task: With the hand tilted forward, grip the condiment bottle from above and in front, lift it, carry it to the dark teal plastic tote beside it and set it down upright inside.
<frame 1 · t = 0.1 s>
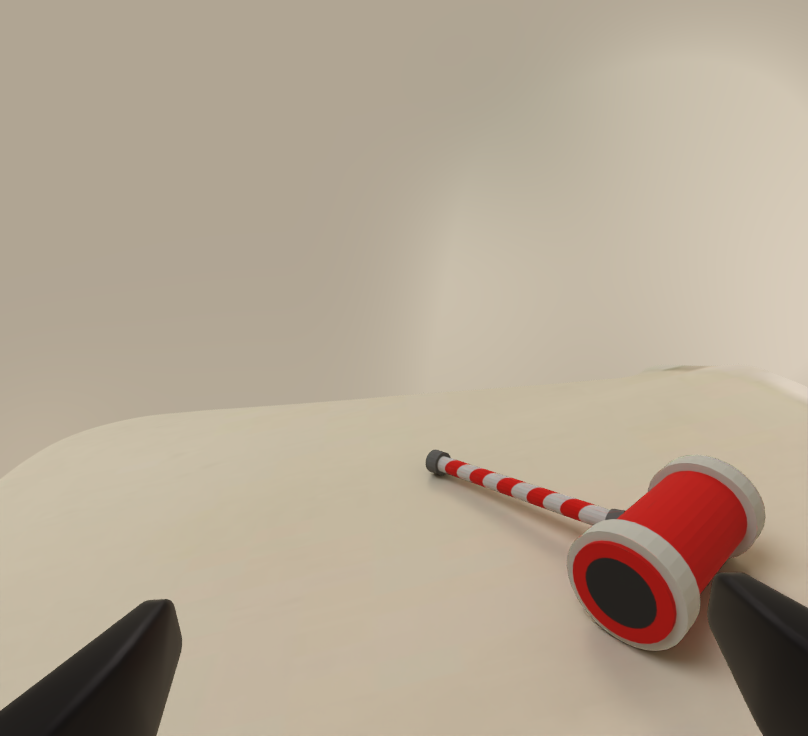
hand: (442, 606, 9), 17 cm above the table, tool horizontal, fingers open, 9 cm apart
toy hammer: (572, 546, 35), on the table
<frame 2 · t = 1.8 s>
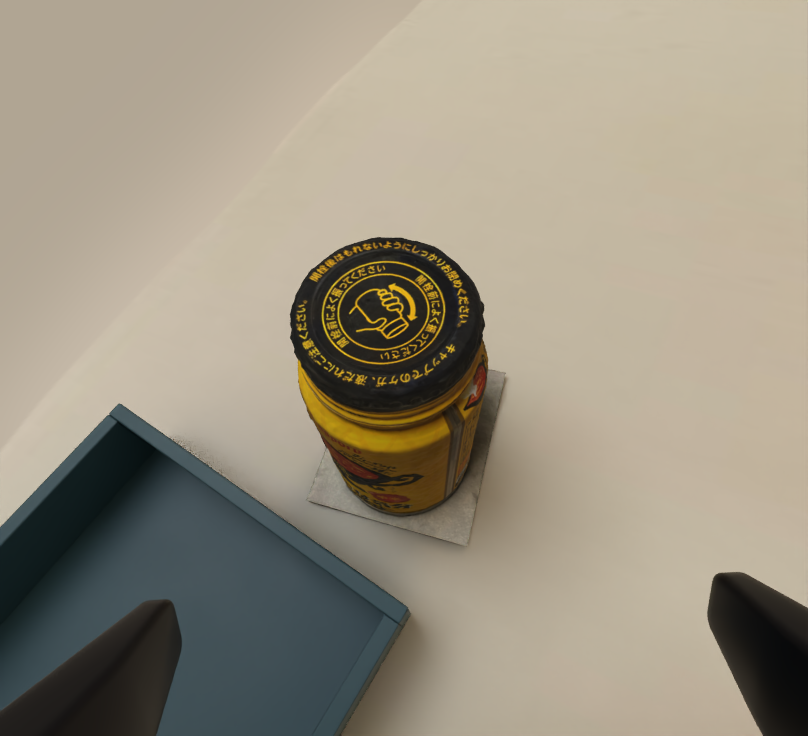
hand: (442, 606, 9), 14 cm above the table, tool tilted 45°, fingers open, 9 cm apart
tote: (152, 685, 20), on the table
condiment: (411, 436, 25), on the table
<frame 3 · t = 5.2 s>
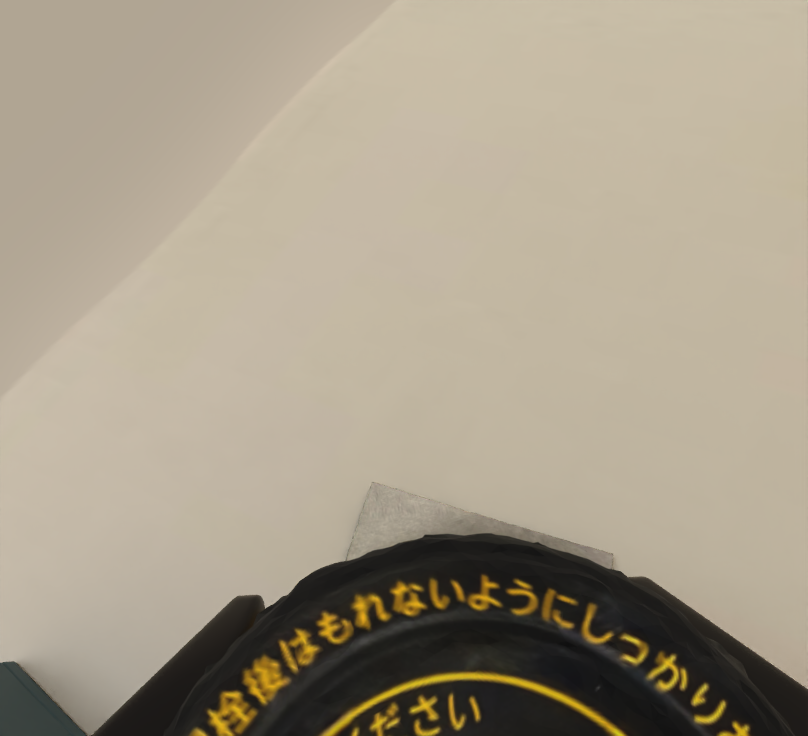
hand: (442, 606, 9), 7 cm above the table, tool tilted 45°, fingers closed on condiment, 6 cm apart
condiment: (450, 672, 14), on the table, touching gripper
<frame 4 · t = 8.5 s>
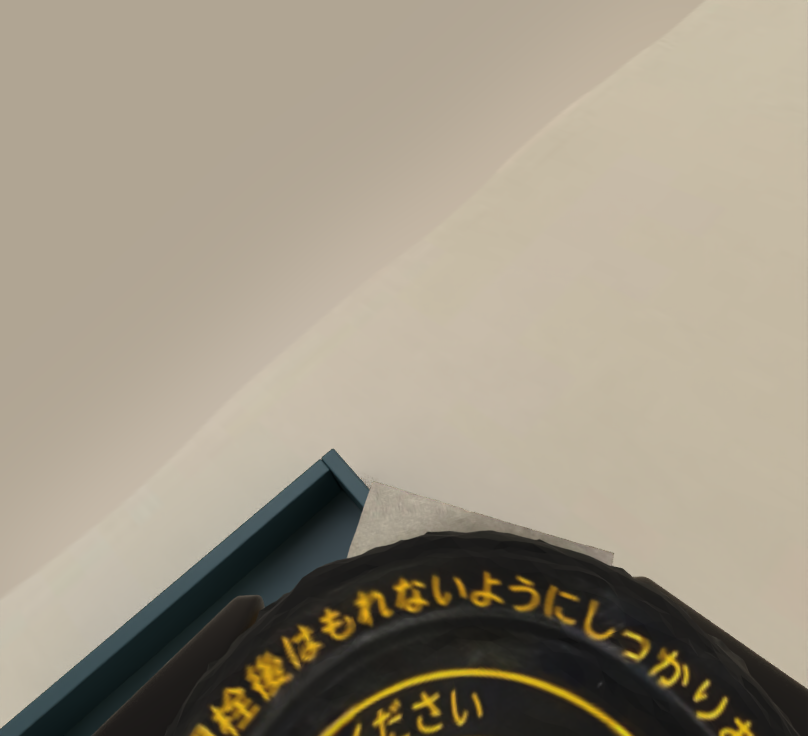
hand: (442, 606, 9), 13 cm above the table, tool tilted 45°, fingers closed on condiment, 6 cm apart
condiment: (450, 671, 14), point 7 cm above the table, touching gripper
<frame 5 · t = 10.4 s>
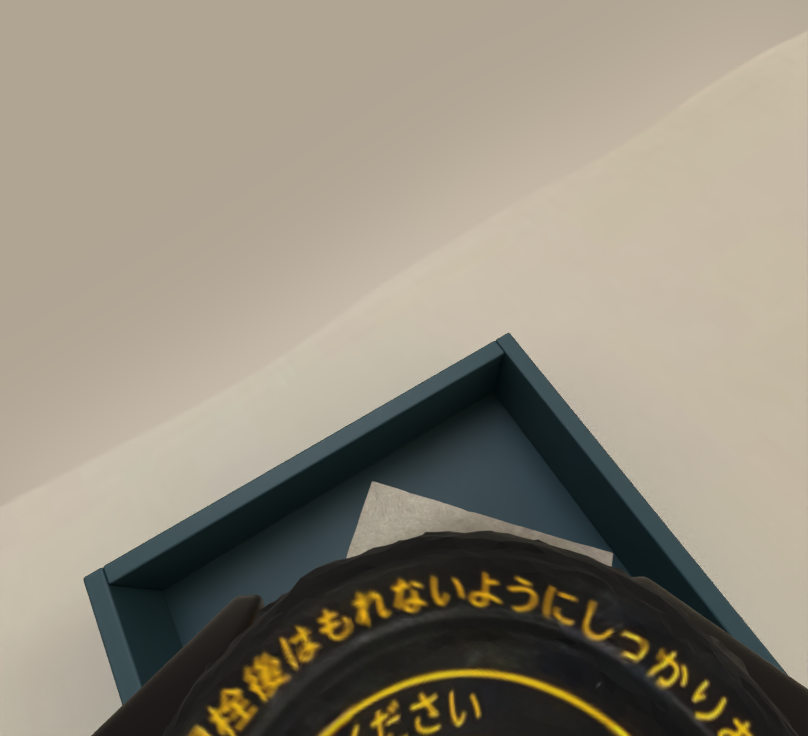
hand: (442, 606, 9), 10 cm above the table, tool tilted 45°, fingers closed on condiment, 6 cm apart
tote: (434, 652, 18), on the table
condiment: (450, 671, 14), point 4 cm above the table, touching gripper
when the fingers open (7 cm above the table, at t = 11.9 s): condiment stays where it is, resting on tote.
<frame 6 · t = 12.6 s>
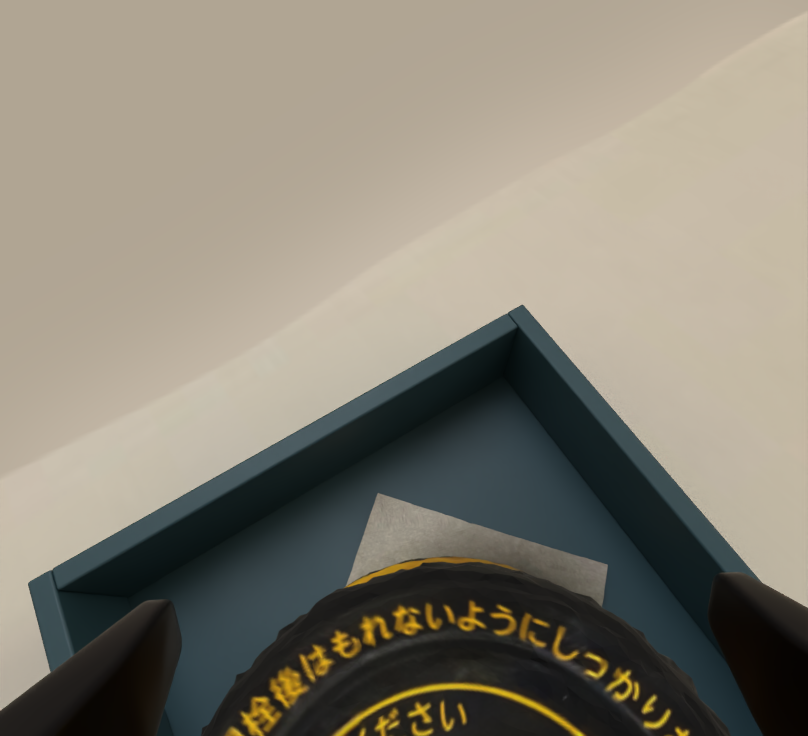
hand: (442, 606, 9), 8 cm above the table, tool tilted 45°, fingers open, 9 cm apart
tote: (437, 669, 15), on the table
condiment: (451, 676, 15), resting on tote
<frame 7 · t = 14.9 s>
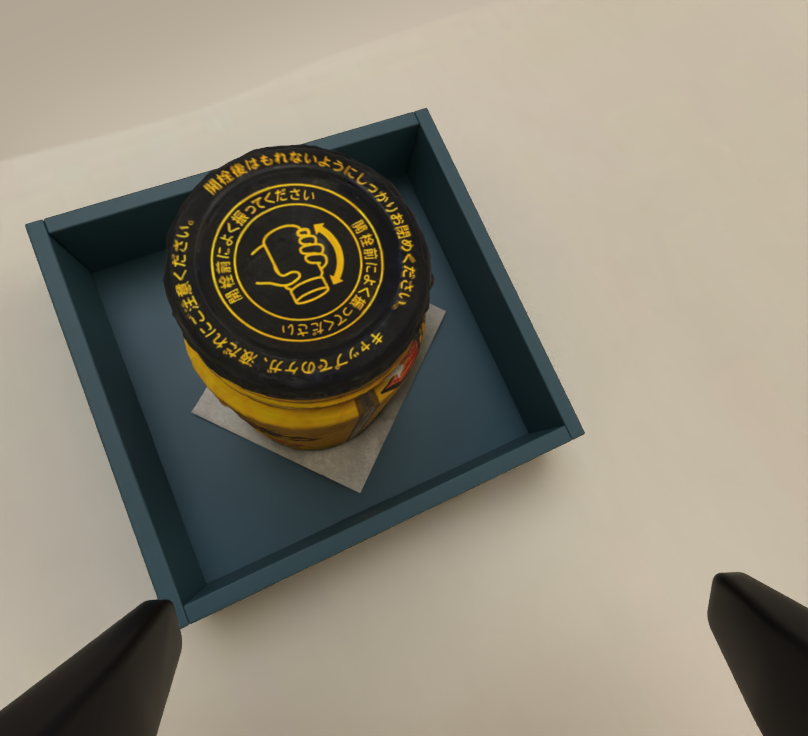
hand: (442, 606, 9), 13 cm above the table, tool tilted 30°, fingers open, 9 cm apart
tote: (317, 358, 22), on the table
condiment: (325, 361, 22), resting on tote
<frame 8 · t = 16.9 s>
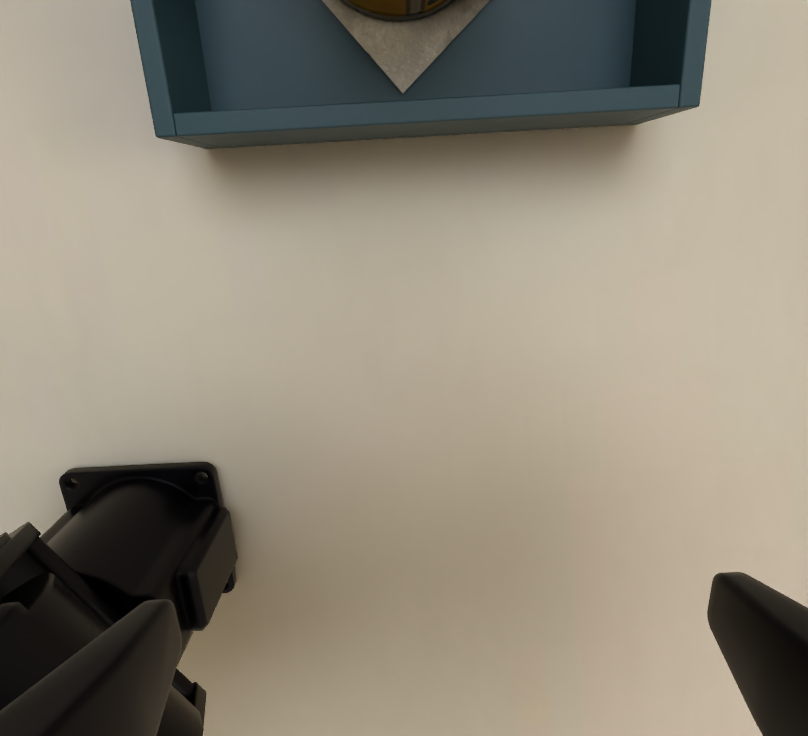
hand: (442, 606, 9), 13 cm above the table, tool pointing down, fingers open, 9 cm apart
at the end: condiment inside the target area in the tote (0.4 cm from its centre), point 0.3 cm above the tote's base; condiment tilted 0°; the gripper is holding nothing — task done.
